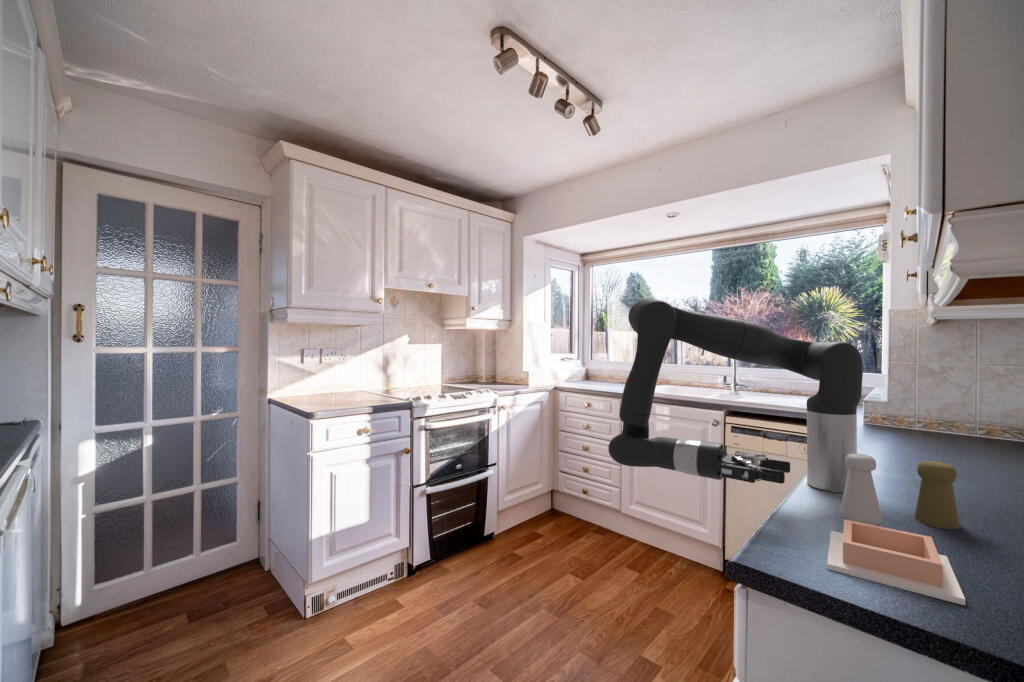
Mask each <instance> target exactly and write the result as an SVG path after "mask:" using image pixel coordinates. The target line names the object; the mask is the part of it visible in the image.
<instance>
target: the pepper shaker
mask: <svg viewBox="0 0 1024 682" xmlns="http://www.w3.org/2000/svg"><path fill="white" fill-rule="evenodd" d="M916 471H917V474H918V476H919V477H920V478H921V480H920V485H919V489H918V490H919V491H918V496H917V500H916V501H917V503H916V508H915V513H914V520H915V521H917V522H918V523H919V522H920V523H921V524H924V525H927V526H930V527H935V528H940V529H945V530H946V529H947V530H959V529H961V524H960V518H959V514H958V512H959V511H958V507H957V506H958V505H957V501H956V495H955V490H954V485H953V483H954V482H956V481H957V477H958V473H957V471H956V469H955V467H954V466H952V465H950V464H948V463H945V462H941V461H934V460H924V461H923V460H922V461H920V462H919V463H918V465H917V470H916Z"/></svg>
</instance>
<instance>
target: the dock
mask: <svg viewBox="0 0 1024 682" xmlns="http://www.w3.org/2000/svg"><path fill="white" fill-rule="evenodd" d="M842 531H843V532H837V531H833V530H830V537H829V546H828V552H827V553H828V554H827V560H826V569H827V570H829V571H833V572H836V573H841V574H845V575H848V576H852V577H856V578H860V579H863V580H867V581H870V582H873V583H874V582H875V583H878V584H883V585H886V586H890V587H894V588H897V589H901V590H905V591H909V592H912V593H917V594H920V595H924V596H928V597H930V598H935V599H939V600H943V601H947V602H951V603H954V604H958V605H962V606H966V598H965V595H964V593H963V591H962V588H961V586H960V584H959V582H958V579H957V577H956V575H955V573H954V572H955V571H954V570H953V568H952V565H951V563H950V561H949V558H948V556H947V555H944V554H939V553H938V551H937V550H938V549H937V547H936V545H935V543H934V539H933V537H932V536H929V535H925V534H924V535H923V534H920V533H919V534H918V533H914V532H908V531H904V530H898V529H893V528H889V527H883V526H875V525H870V524H865V523H860V522H855V521H850V520H845V519H844V520H843V530H842Z"/></svg>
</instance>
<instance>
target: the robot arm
mask: <svg viewBox="0 0 1024 682" xmlns="http://www.w3.org/2000/svg"><path fill="white" fill-rule="evenodd" d="M628 322H629V324H630V327H631V328H632V329H633V331H634V332H635V333H636V334H637V338H636V340H637V341H636V351H635V355H634V361H633V362H632V363H633V364H632V365H631V369H630V371H629V373H628V374H629V375H628V376H627V378H626V381H625V384H624V388H623V392H622V397H621V402H620V408H619V414H618V415H619V419H620V421H621V422H622V430H621V432H620V434H617V435H616V436H614V437H612V439H611V440H610V442H609V444H608V453H609V455H610V457H611V458H612V459H613V461H615V462H616V463H618V464H619V465H622V466H627V467H637V468H638V467H639V468H640V467H641V468H661V469H664V470H665V469H666V470H671V471H675V472H676V471H677V472H680V473H684V474H685V475H686V474H687V475H691V476H695V477H702V478H707V479H713V480H717V481H721V480H723V479H725V478H726V479H731V480H737V481H742V482H747V483H750V484H753V483H756V482H760V481H761V482H762V481H763V482H769V483H775V484H781V485H782V484H785V481H786V480H785V479H786V477H785V476H786V475H785V473H786V474H789V473H790V472H791V462H790V461H787V460H780V459H774V458H769V457H768V456H767V455H766V454H763V453H753V452H745V451H740V450H735V451H734V454H728V453H727V452H726V451H727V449H726V446H725V445H724V444H723V443H719V442H718V443H717V442H712V441H704V440H703V441H702V440H695V439H687V438H686V439H682V438H681V439H680V438H673V437H667V436H657V437H656V436H655V437H653V438H650V425H649V424H650V422H649V420H650V417H651V413H652V407H653V402H654V397H655V392H656V388H657V383H658V378H659V375H660V371H661V368H662V364H663V361H664V359H665V355H666V352H667V349H668V347H669V344H670V342H671V340H674V341H680V342H684V343H686V344H689V345H691V346H694V347H696V348H699V349H701V350H702V351H703V350H704V351H705V352H708V353H711V354H714V355H718V356H721V357H724V358H728V359H732V360H736V361H740V362H744V363H749V364H756V365H764V366H769V367H770V366H772V367H777V368H780V369H784V370H787V371H790V372H793V373H795V374H798V375H801V376H804V377H805V378H809V379H812V380H815V381H819V383H818V384H819V385H818V391H817V392H816V394H814V395H812V396H810V397H807V400H806V482H807V483H806V484H807V485H808V486H810V487H813V488H815V489H818V490H822V491H826V492H830V493H831V492H832V493H840V494H841V493H842V494H844V489H845V485H846V481H847V476H848V472H849V467H847V466H846V464H845V457H846V456H847V455H848V454H858V427H857V426H858V423H857V422H858V420H857V417H858V416H857V411H858V409H857V408H858V406H859V403H860V401H861V399H862V392H863V391H862V390H863V374H864V373H863V371H864V367H863V366H864V365H863V363H864V362H863V359H862V355H861V353H860V351H859V350H858V348H857V347H856V346H854V345H853V344H851V343H849V342H844V341H808V340H801V339H794V338H789V337H786V336H783V335H780V334H778V333H777V332H775V331H773V330H772V329H770V328H767V327H766V326H763V325H761V324H758V323H755V322H750V321H747V320H742V319H739V318H734V317H733V318H732V317H728V316H722V315H715V314H707V313H700V312H699V313H698V312H694V311H689V310H684V309H681V308H679V307H675V306H672V305H671V304H670V303H669V302H667V301H664V300H661V299H657V298H651V297H650V298H644V299H641V300H638V301H637V302H636V303H634V304H633V305H632V307H631V308H630V309H629V311H628Z"/></svg>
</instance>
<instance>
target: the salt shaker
mask: <svg viewBox="0 0 1024 682" xmlns="http://www.w3.org/2000/svg"><path fill="white" fill-rule="evenodd" d="M845 464H846V466H847V467H849V472H848V476H847V481H846V485H845V489H844V493H842V497H841V503H840V507H839V512H840V515H841V517H842V520H843V521H844V519H845V520H850V521H855V522H860V523H865V524H870V525H875V526H879V525H880V524H881V523H882V521H883V517H882V513H881V509H880V505H879V500H878V495H877V491H876V487H875V483H874V479H873V475H872V474H873V473H872V471H875V470H876V469H877V462H876V459H875V458H874V457H873V456H870V455H867V454H863V453H857V454H848V455H847V456H846V457H845Z"/></svg>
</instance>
